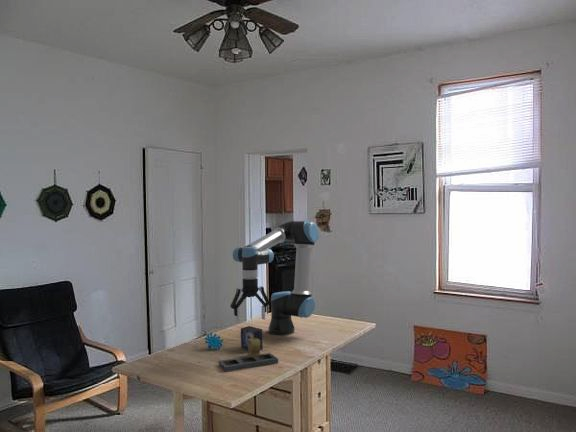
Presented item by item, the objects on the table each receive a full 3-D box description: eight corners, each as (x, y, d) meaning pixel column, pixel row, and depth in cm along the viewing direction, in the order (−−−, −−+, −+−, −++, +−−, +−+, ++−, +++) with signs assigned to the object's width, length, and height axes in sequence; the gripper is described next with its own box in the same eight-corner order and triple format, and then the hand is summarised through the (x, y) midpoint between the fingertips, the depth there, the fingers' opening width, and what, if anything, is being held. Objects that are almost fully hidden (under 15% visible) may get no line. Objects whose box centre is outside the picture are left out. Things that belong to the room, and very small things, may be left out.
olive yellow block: (256, 353, 246) (256, 337, 245) (259, 355, 241) (259, 339, 241) (248, 354, 244) (247, 338, 243) (251, 357, 240) (251, 341, 239)
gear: (209, 349, 248) (203, 332, 254) (204, 355, 251) (198, 338, 257) (227, 347, 255) (221, 331, 261) (222, 354, 258) (216, 337, 264)
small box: (240, 347, 255) (239, 328, 255) (249, 345, 260) (249, 325, 259) (254, 352, 248) (253, 331, 247) (263, 349, 253) (263, 328, 252)
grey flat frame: (269, 356, 240) (269, 352, 240) (278, 362, 231) (278, 358, 231) (218, 365, 229) (218, 360, 229) (225, 371, 220) (225, 367, 219)
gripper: (270, 275, 250) (270, 316, 251) (223, 278, 240) (224, 321, 240) (276, 277, 244) (276, 319, 244) (228, 281, 233) (228, 325, 234)
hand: (250, 320), depth 242 cm, fingers open, 13 cm apart
